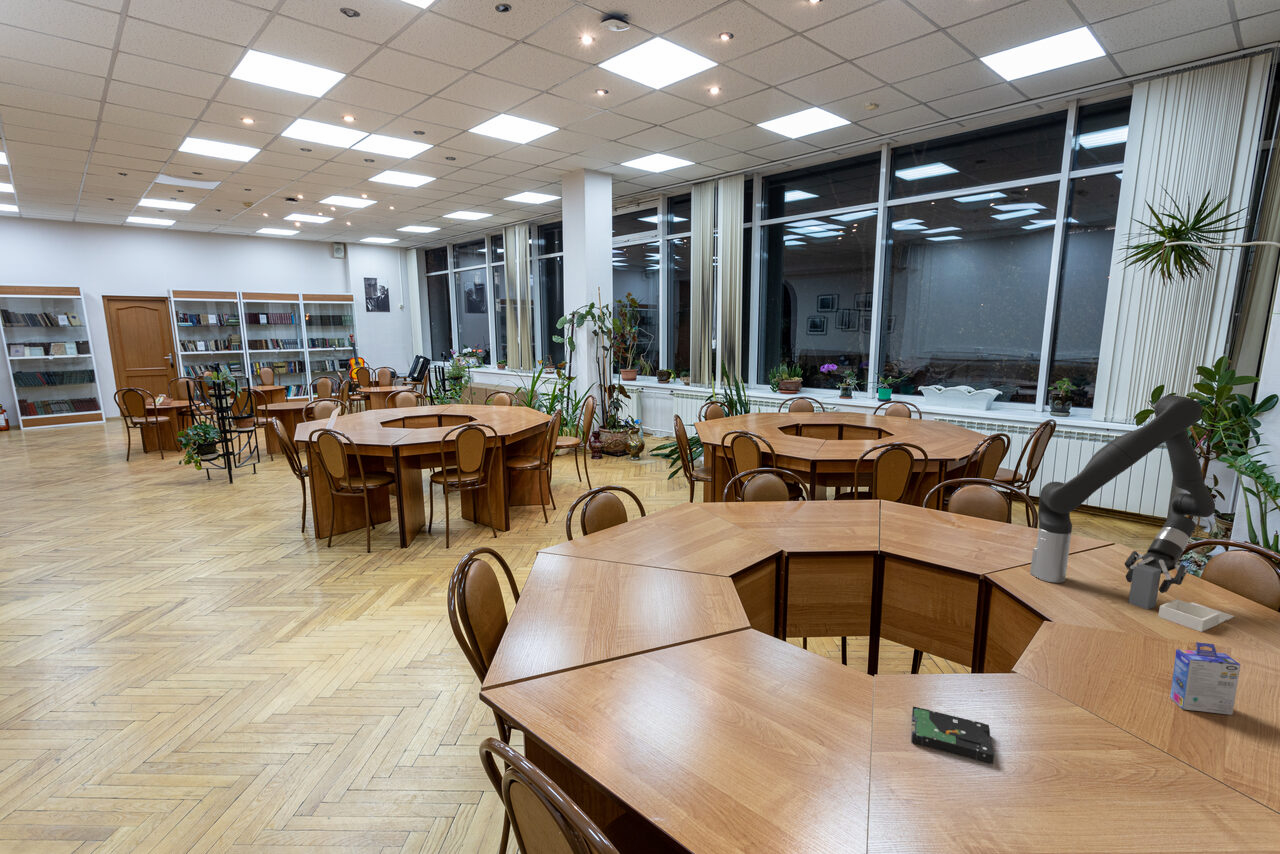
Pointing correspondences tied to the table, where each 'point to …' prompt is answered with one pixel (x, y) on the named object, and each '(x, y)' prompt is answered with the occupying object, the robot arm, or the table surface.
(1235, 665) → the ink cartridge box
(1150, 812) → the table surface
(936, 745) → the disk drive
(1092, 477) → the robot arm
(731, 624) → the table surface
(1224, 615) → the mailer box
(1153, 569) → the charcoal carton
